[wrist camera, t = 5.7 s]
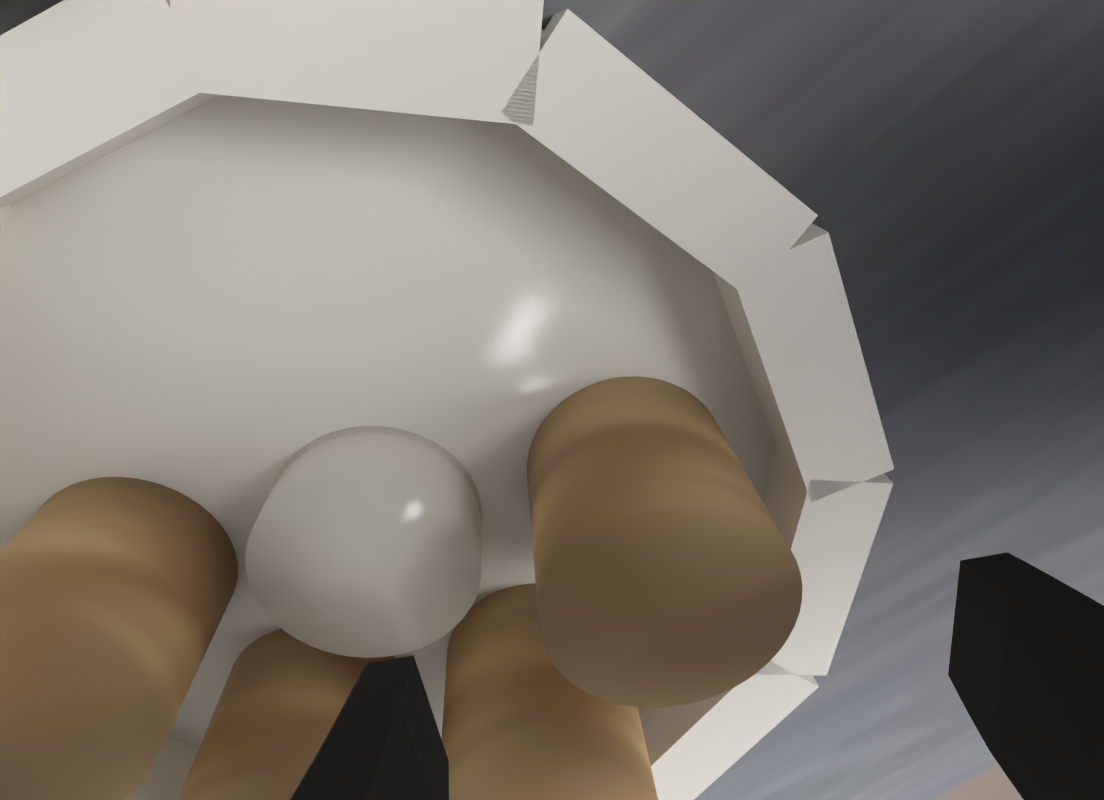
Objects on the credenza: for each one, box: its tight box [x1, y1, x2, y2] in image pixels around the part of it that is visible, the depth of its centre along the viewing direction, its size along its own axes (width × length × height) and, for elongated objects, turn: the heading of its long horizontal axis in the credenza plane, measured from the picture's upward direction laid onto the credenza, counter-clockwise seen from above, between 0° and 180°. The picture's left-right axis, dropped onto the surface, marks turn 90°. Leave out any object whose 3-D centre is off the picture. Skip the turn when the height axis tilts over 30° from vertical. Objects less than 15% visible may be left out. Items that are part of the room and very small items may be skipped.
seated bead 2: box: [178, 628, 396, 800], centre depth 14 cm, size 4×4×4 cm
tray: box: [0, 0, 894, 800], centre depth 14 cm, size 18×18×2 cm
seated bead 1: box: [0, 477, 238, 800], centre depth 12 cm, size 4×4×4 cm
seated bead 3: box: [441, 583, 658, 800], centre depth 14 cm, size 4×4×4 cm
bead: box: [527, 377, 802, 708], centre depth 12 cm, size 4×4×4 cm
